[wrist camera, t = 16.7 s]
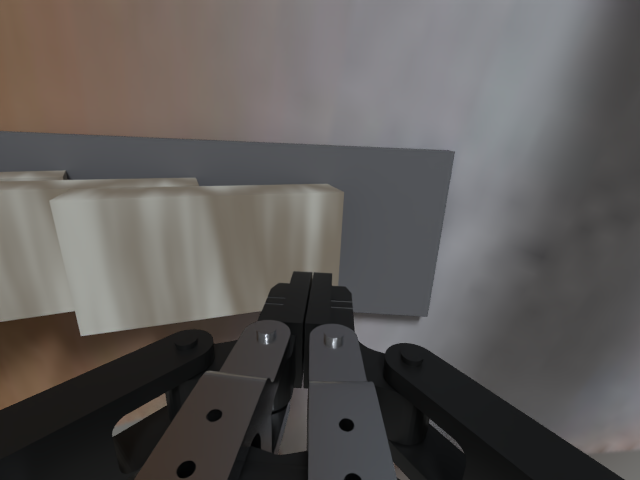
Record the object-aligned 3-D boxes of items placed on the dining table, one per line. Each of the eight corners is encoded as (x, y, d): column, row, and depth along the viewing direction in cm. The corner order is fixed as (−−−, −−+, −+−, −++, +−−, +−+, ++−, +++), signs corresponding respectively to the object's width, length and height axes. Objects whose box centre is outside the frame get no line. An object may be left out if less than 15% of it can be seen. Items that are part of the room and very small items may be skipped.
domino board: (448, 150, 18) (455, 151, 17) (423, 308, 22) (427, 317, 21) (-348, 116, 20) (-385, 115, 19) (-261, 266, 24) (-288, 272, 23)
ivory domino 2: (344, 192, 16) (49, 200, 13) (337, 300, 18) (80, 336, 15) (327, 183, 18) (71, 188, 15) (322, 281, 20) (96, 308, 17)
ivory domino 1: (198, 185, 17) (-151, 194, 12) (207, 292, 19) (-91, 334, 14) (195, 177, 19) (-105, 183, 14) (203, 274, 21) (-58, 306, 16)
